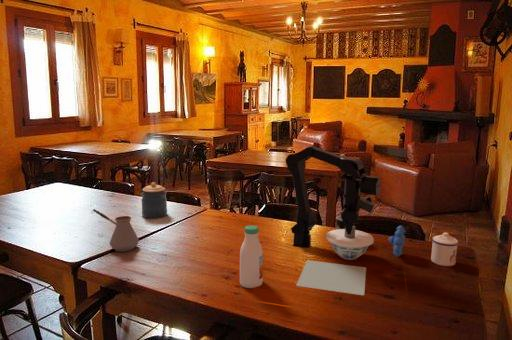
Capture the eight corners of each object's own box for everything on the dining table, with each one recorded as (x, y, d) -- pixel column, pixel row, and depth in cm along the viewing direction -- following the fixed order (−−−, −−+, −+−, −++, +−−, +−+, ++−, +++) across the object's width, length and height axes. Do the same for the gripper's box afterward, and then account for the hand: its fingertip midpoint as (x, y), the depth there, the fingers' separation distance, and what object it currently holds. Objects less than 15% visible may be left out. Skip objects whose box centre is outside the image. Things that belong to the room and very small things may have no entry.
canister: (164, 219, 207) (163, 185, 204) (138, 218, 207) (137, 184, 204) (169, 211, 220) (168, 179, 217) (145, 211, 220) (144, 179, 217)
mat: (295, 287, 136) (295, 285, 136) (306, 261, 157) (306, 260, 157) (364, 297, 130) (364, 295, 130) (366, 269, 151) (366, 267, 151)
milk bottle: (254, 291, 133) (255, 232, 129) (235, 285, 137) (235, 228, 133) (266, 282, 140) (267, 226, 136) (247, 276, 144) (248, 222, 140)
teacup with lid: (454, 268, 152) (458, 238, 150) (428, 263, 156) (431, 234, 154) (457, 257, 162) (460, 229, 160) (433, 253, 166) (435, 225, 164)
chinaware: (373, 255, 163) (374, 237, 162) (360, 268, 151) (362, 249, 150) (337, 247, 171) (338, 230, 170) (323, 259, 159) (324, 240, 157)
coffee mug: (355, 244, 175) (356, 222, 173) (334, 242, 177) (335, 220, 175) (354, 235, 186) (355, 214, 185) (335, 233, 188) (336, 212, 186)
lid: (323, 244, 154) (323, 231, 153) (329, 229, 171) (329, 217, 170) (373, 250, 149) (373, 237, 148) (373, 234, 166) (374, 222, 165)
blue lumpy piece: (389, 248, 171) (391, 220, 169) (406, 251, 168) (409, 223, 166) (384, 257, 161) (386, 228, 159) (402, 261, 158) (404, 231, 156)
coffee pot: (144, 245, 172) (143, 211, 169) (127, 255, 161) (125, 218, 158) (104, 238, 179) (102, 205, 176) (84, 247, 169) (82, 212, 166)
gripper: (373, 199, 145) (370, 240, 148) (374, 187, 163) (371, 225, 166) (341, 196, 148) (339, 237, 151) (345, 185, 166) (343, 222, 169)
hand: (349, 230), depth 159 cm, fingers open, 9 cm apart
